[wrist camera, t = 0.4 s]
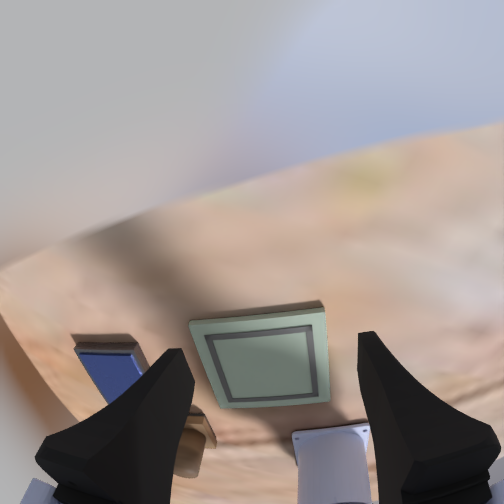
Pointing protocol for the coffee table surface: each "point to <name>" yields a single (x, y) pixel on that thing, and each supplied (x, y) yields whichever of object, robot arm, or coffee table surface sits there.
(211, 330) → the board
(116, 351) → the ink pad
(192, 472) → the stamp
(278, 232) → the coffee table surface
